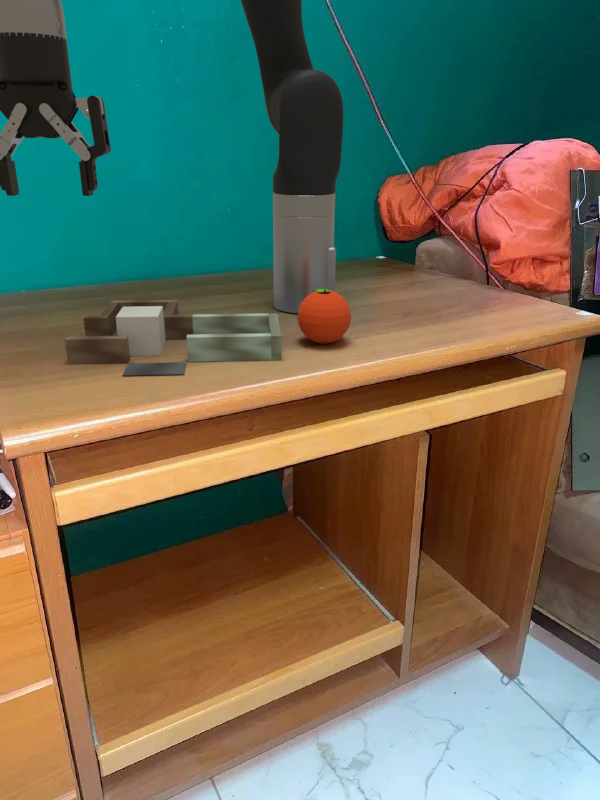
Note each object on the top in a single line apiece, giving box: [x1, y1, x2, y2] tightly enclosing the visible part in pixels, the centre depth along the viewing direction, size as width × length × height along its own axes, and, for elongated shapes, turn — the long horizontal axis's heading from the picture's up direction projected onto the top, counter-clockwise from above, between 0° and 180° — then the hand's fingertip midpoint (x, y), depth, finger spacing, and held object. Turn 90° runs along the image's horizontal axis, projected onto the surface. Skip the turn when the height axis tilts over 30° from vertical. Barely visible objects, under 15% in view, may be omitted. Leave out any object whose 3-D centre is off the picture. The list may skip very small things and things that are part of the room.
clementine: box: [297, 289, 352, 345], centre depth 82 cm, size 8×7×7 cm
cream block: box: [116, 306, 167, 357], centre depth 79 cm, size 5×5×5 cm
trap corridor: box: [64, 299, 282, 377], centre depth 81 cm, size 25×23×3 cm
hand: (50, 195), depth 73 cm, fingers open, 8 cm apart
